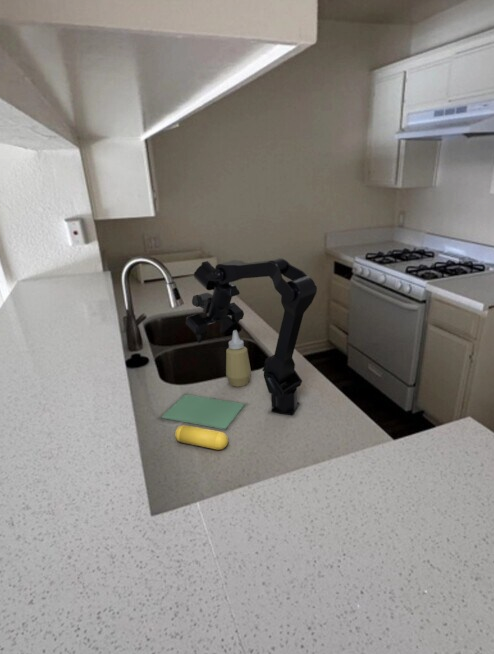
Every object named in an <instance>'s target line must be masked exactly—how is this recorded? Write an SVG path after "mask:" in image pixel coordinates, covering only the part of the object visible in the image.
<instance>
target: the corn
mask: <svg viewBox="0 0 494 654" xmlns="http://www.w3.org/2000/svg"><path fill="white" fill-rule="evenodd" d="M174 437H175V439H176V440H177V441H178V442H179V443H182V444H188V445H192V446H197V447H203V448H207V449H211V450H217V451H221V450H223V449H225V448H226V447H227V446H228V444H229V437H228V435H227V434H226V433H225V432H223V431H219V430H213V429H208V428H204V427H198V426H192V425H187V424H182V425H179V426H178V427H177V428H176V430H175V432H174Z"/></svg>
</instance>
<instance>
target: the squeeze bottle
mask: <svg viewBox="0 0 494 654" xmlns="http://www.w3.org/2000/svg"><path fill="white" fill-rule="evenodd" d="M244 345H245V343H244V340H243V339H240V335H239V332H238V330H237V329H234V330H232V336H231V340H229V341H228V348H226V350H225V351H226V356H225V357H226V358H225V376H226V379H228V381H229V382H228V383H229V384H230V385H231V386H232V387H238V388H240V387H244V386H247V385H248V384H249V382H250V378H251V375H252V370H251V369H252V368H251V364H250V358H249V352H248V348H247V347H246V346H244Z"/></svg>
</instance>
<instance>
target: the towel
mask: <svg viewBox="0 0 494 654" xmlns="http://www.w3.org/2000/svg"><path fill="white" fill-rule="evenodd" d="M245 405H246V403H242V402H235V401H231V400H230V401H229V400H223V399H217V398H211V397H204V396H200V395H199V396H198V395H191V394H187V393H186V394H184V395H183V396H182V397H181V398H180V399H178V401H177V402H175V404H174V405H172V406H171V407H170V408H169V409H168V410H167V411H166V412H165V413H164V414H163V415H161V419H166V420H169V421H177V422H181V423H188V424H193V425H197V426H198V425H199V426H204V427H209V428H215V429H221V430H225V431H226V430H227V429H228V428H229V427H230V425H231V424H232V422H233V421H234V420H235V418H236V417H237V416H238V414H240V412H241V411H242V409H243V408H244V407H245Z"/></svg>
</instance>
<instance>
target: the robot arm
mask: <svg viewBox="0 0 494 654" xmlns="http://www.w3.org/2000/svg"><path fill="white" fill-rule="evenodd" d="M283 276H284V277H285V278H287V279H289V281H286V280H285V279H284V278H283ZM264 277H266V278H267V277H269V278H270V279H271V280H272V284H273V286H274V289H275V291H276V292H278V294H279V295H280V296H281V297H280V302H281V305H282V307H283V315H282V320H281V324H280V328H279V331H278V332H279V333H278V338H277V341H276V346H275V350H274V353H273V354H272V355H271V356H268V357H267V358H265V360H264V366H263V368H262V372H263V379H264V382H265V385H266V388H267V391H268V393H269V394H270V397H271V398H270V400H271V407H272V408H271V410H270V411H271V413H274V414H280V415H281V414H282V415H288V416H294V414H295V413H296V412H297V409H298V408H299V405H300V402H299V401H298V388H299V387H301V386H302V382H303V380H302V378H301V377H300V375H299V374H298V373H297V371H296V369H295V368H296V363H295V361H294V359H293V356H294V352H295V348H296V344H297V340H298V336H299V333H300V328H301V325H302V321H303V318H304V314H305V312H306V311H307V310H308V309H309V307H310V306H311V304H312V303H313V301H314V299H315V297H316V296H317V292H318V286H317V285H316V282H315V281H314V280H313V278H312V277H310V276H308V275H307V274H306V273H305V272H304V271H303V270H302V269H299V268H298V267H296V266H294V265H292V264H291V263H290V262H289V261H288V260H286V259H285V258H281V257H279V258H276V259H270V260H269V259H268V260H259V261H252V262H245V261H243V260H237V259H233V260H229V261H225V262H221V263H218V264H216V265H215V266H213V265H212V264H211V263H210V262H209V261H208V260H206V261H202V262H201V265H199V266H198V267H197V268H196V270H195V271H194V273H193V278H194V280H196V281H197V282H198V283H199V284H200V285H201V286H202V287H203V288H204V289H205V290H206V291H212V293H210V292H204V293H200V294H194V295H193V296H192V299H191V304H192V306H193V307H195V308H201V309H202V312H203V313H204V314H206V317H202V316H201V315H200V314H199V313H196V314H192V315H188V316H187V317H186V319H185V325H186V326H187V327H188V329H190V330H191V331H192V332H193V333H194V334H195V337H196V341H197V342H198V344H200V343H201V342H202V341H203V340H204V338H205V337H206V336H207V334H208V330H209V325H212V324H217V323H220V322H221V325H220V329H219V333H220V334H221V335H224V334H225V333H226V332H227V331H228V330H230V329H231V328H232V327H233V326H235V324H237V323H239V322H240V320H243V319H244V316H245V313H244V310H243V309H242V308H241V307H240V306H239V305H238V304H237V303H236V302H232V298H233V297H235V296H238V295H240V294H241V293H240V290H239V289H238V288H237V285H234V284H233V282H238V281H240V280H243V279H253V278H264Z"/></svg>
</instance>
